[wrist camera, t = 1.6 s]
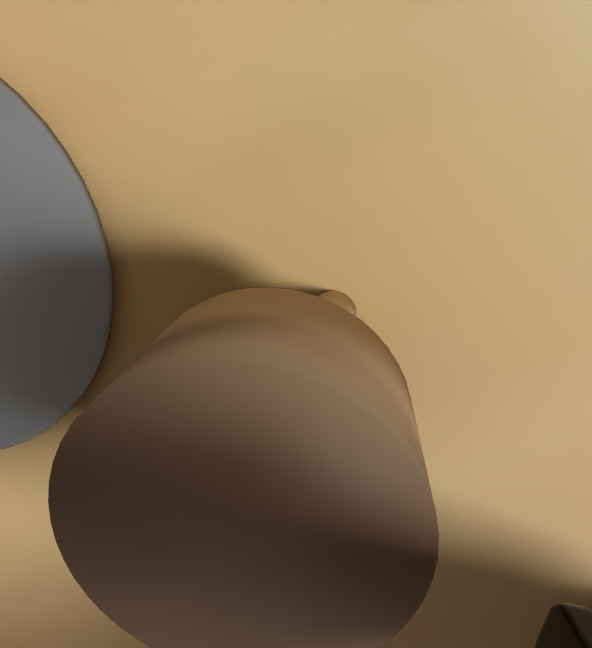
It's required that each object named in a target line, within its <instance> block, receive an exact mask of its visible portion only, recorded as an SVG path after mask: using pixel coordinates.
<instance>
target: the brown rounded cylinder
mask: <svg viewBox="0 0 592 648" xmlns="http://www.w3.org/2000/svg"><path fill="white" fill-rule="evenodd" d="M48 503H49V511H50V520H51V525H52V528H53V532H54V536H55V539H56V543H57V545H58V547H59V550H60V552H61V554H62V557H63V559H64V561H65V563H66V565H67V566H68V568H69V570H70V572H71V573H72V575H73V577H74V578H75V580H76V581H77V582H78V584H79V585H80V586H81V588H82V589H83V590H84V592H85V593H86V594H87V596H88V597H89V598H90V599H91V600H92V601H93V602H94V603H95V604H96V605H97V606H98V608H99V609H100V610H101V611H102V612H103V613H104V614H106V615H107V616H108V617H109V618H110V619H111V620H113V621H114V622H115V623H116V624H117V625H118V626H120V627H121V628H122V629H124V630H125V631H127V632H128V633H129V634H131V635H132V636H134V637H135V638H137V639H138V640H140V641H142V642H143V643H145V644H147V645H149V646H150V647H152V648H378V647H380V646H381V645H383V644H384V643H386V642H387V641H388V640H389V639H391V638H392V637H393V636H394V635H395V634H396V633H397V632H399V631H400V630H401V629H402V628H403V627H404V625H405V624H406V623H407V622H408V621H409V620H410V619H411V617H412V616H413V615H414V614H415V612H416V611H417V609H418V607H419V606H420V604H421V603H422V601H423V599H424V598H425V596H426V594H427V591H428V589H429V586H430V584H431V581H432V579H433V576H434V571H435V567H436V562H437V558H438V540H439V534H438V526H437V517H436V511H435V507H434V502H433V497H432V493H431V488H430V484H429V479H428V475H427V470H426V466H425V461H424V457H423V452H422V448H421V443H420V438H419V434H418V429H417V425H416V420H415V416H414V411H413V407H412V402H411V398H410V394H409V390H408V387H407V383H406V380H405V377H404V375H403V373H402V371H401V369H400V366H399V364H398V362H397V361H396V359H395V358H394V356H393V354H392V353H391V351H390V350H389V348H388V347H387V346H386V345H385V343H384V342H383V341H382V340H381V339H380V337H379V336H378V335H377V334H376V333H375V332H374V331H373V330H372V329H371V328H369V327H368V326H367V325H366V324H365V323H364V322H363V321H362V320H360V319H359V318H357V317H356V308H355V305H354V303H353V301H352V300H351V299H350V297H348V296H347V295H346V294H344V293H342V292H338V291H327V292H324V293H322V294H320V295H319V296H318V297H317V296H315V295H312V294H309V293H304V292H300V291H296V290H291V289H283V288H273V287H262V288H247V289H240V290H234V291H230V292H227V293H223V294H220V295H216V296H214V297H211V298H209V299H207V300H205V301H203V302H200V303H198V304H197V305H195V306H193V307H192V308H190V309H189V310H187V311H186V312H184V313H183V314H182V315H180V316H179V317H178V318H177V319H176V320H175V321H173V322H172V323H171V324H170V325H169V326H168V327H167V328H166V329H165V330H164V331H163V332H162V333H161V334H160V335H159V336H158V337H157V338H156V339H155V340H154V341H153V342H152V343H151V344H150V345H149V346H148V347H147V348H146V349H145V350H144V351H142V352H141V353H140V354H139V355H138V356H137V357H136V358H135V359H134V360H133V361H132V362H131V363H130V364H129V365H128V366H127V367H126V368H125V369H124V370H123V371H122V372H121V373H120V374H119V375H118V376H117V377H116V378H115V379H114V380H113V381H112V382H111V383H110V384H109V385H108V386H107V387H106V388H105V389H104V390H103V391H102V392H101V393H100V394H99V395H98V396H97V397H96V398H95V399H94V400H93V401H92V402H91V403H90V404H89V405H88V406H87V407H86V408H85V409H84V410H83V411H82V412H81V413H80V415H79V416H78V417H77V418H76V419H75V421H74V422H73V423H72V424H71V426H70V427H69V429H68V431H67V432H66V434H65V436H64V437H63V439H62V441H61V442H60V445H59V448H58V450H57V453H56V456H55V458H54V461H53V465H52V470H51V475H50V480H49V498H48Z"/></svg>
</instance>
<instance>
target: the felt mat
mask: <svg viewBox="0 0 592 648" xmlns="http://www.w3.org/2000/svg"><path fill="white" fill-rule="evenodd" d="M113 299H114V298H113V280H112V268H111V263H110V257H109V252H108V246H107V241H106V238H105V235H104V231H103V228H102V225H101V222H100V218H99V215H98V212H97V209H96V207H95V205H94V203H93V200H92V198H91V196H90V194H89V191H88V189H87V187H86V184H85V182H84V180H83V178H82V177H81V175H80V173H79V172H78V170H77V168H76V166H75V165H74V163H73V161H72V159H71V158H70V156H69V154H68V153H67V151H66V150H65V148H64V147H63V145H62V144H61V143H60V141H59V140H58V139H57V137H56V136H55V135H54V133H53V132H52V130H51V129H50V128H49V126H48V125H47V124H46V122H45V121H44V120H43V119H42V118H41V117H40V116H39V115H38V114H37V113H36V111H35V110H34V109H33V108H32V107H31V106H30V105H29V104H28V103H27V102H26V101H25V99H24V98H23V97H22V96H21V95H20V94H18V93H17V92H16V91H15V90H14V89H13V88H12V87H10V86H9V85H8V84H7V83H6V82H5V81H4V80H2V79H1V78H0V449H4V448H8V447H12V446H14V445H16V444H19V443H21V442H24V441H26V440H29V439H31V438H32V437H34V436H36V435H37V434H39V433H41V432H42V431H44V430H46V429H47V428H49V427H50V426H51V425H52V424H53V423H55V422H56V421H57V420H58V419H59V418H60V417H62V416H63V415H64V414H65V413H66V412H67V411H68V410H69V409H70V408H71V407H72V406H73V405H74V404H75V403H76V402H77V400H78V399H79V398H80V397H81V396H82V394H83V393H84V392H85V391H86V389H87V388H88V386H89V384H90V383H91V381H92V379H93V378H94V376H95V374H96V372H97V371H98V368H99V366H100V363H101V360H102V358H103V355H104V353H105V350H106V347H107V342H108V338H109V333H110V329H111V324H112V311H113Z"/></svg>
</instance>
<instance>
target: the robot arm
mask: <svg viewBox="0 0 592 648" xmlns="http://www.w3.org/2000/svg"><path fill="white" fill-rule="evenodd" d="M535 648H592V612H591V611H590V610H589V609H588V608H586V607H583V606H579V605H574V604H569V603H564V602H556V603H555V604H554V605H552V607H551V609H550V611H549V613H548V616H547V618H546V620H545V622H544V625H543V627H542V629H541V632H540V634H539V636H538V638H537V641H536V646H535Z"/></svg>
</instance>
